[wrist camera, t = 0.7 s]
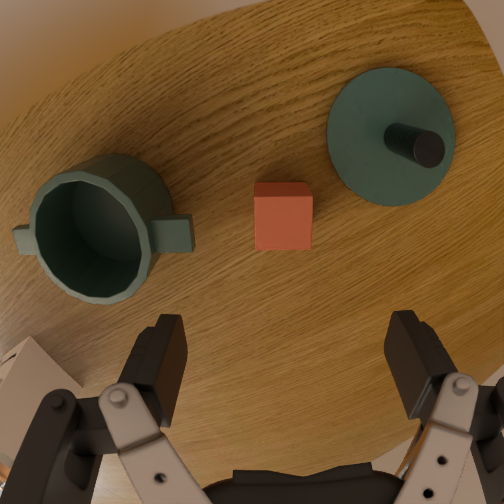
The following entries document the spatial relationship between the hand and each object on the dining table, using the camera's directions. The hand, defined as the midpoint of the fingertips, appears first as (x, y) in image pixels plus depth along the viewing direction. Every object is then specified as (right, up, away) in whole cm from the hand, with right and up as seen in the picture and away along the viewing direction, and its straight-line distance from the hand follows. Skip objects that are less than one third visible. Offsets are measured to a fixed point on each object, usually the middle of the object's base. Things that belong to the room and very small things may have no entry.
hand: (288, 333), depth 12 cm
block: (+1, +7, +14) cm, 16 cm away
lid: (+10, +12, +11) cm, 19 cm away
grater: (-32, -14, +26) cm, 44 cm away
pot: (-13, +6, +15) cm, 21 cm away
